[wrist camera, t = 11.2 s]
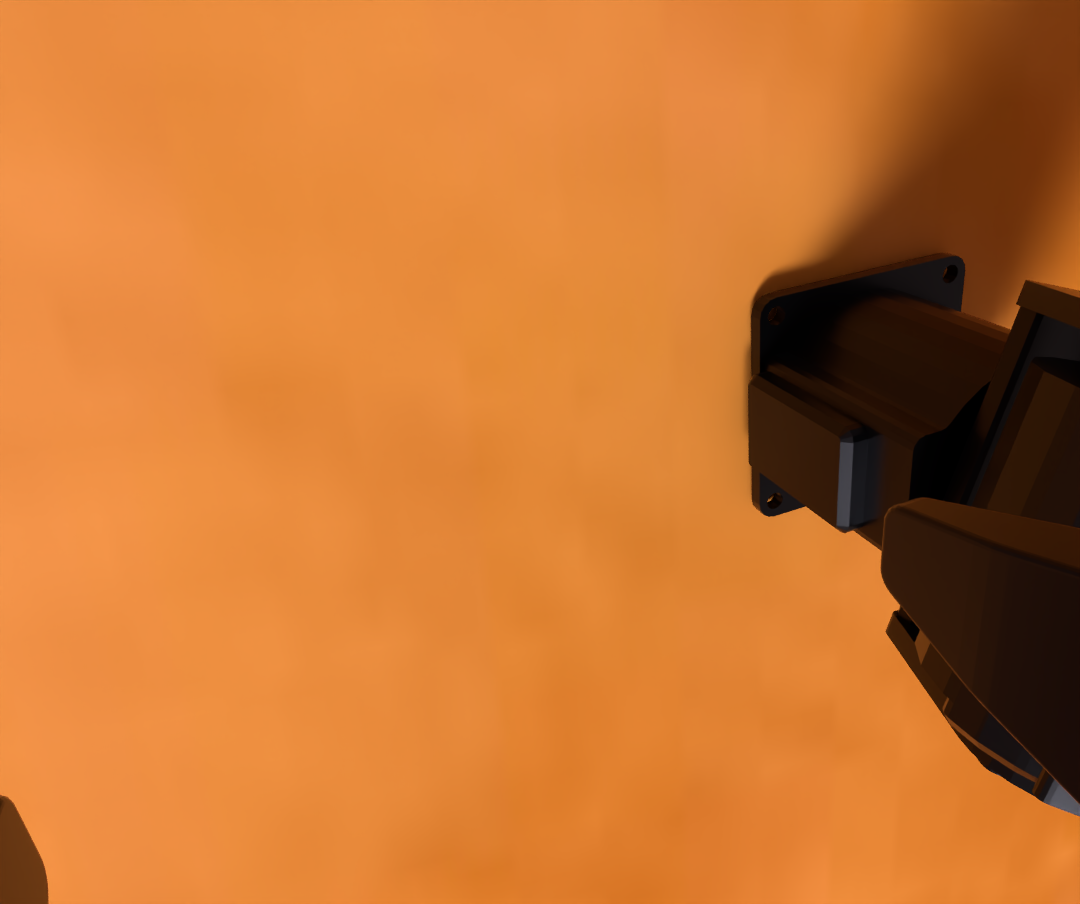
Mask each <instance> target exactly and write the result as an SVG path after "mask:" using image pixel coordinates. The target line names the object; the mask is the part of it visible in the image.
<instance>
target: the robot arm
mask: <svg viewBox="0 0 1080 904" xmlns="http://www.w3.org/2000/svg"><path fill="white" fill-rule="evenodd" d="M946 268H947V272H946V274H945V276H944V277H943V273H944V270H945V269H946ZM964 276H965V264H964V262H963V260H962V258H960V257H958V256H956V255H952V254H949V253H939V254H935V255H930V256H926V257H922V258H918V259H913V260H909V261H905V262H901V263H896V264H892V265H888V266H883V267H879V268H875V269H871V270H866V271H862V272H858V273H853V274H849V275H845V276H841V277H836V278H832V279H828V280H823V281H819V282H815V283H811V284H806V285H802V286H798V287H793V288H789V289H785V290H781V291H776V292H772V293H768V294H766V295H764V296H762V297H761V298H759V299H758V300H757V301H756V303H755V305H754V307H753V309H752V315H751V369H752V378H751V380H750V383H749V385H748V416H749V464H750V465H751V466H752V502H753V505H754V506H755V508H756V509H757V510H759V511H760V512H761V513H762V514H764V515H766V516H769V517H770V516H776V515H779V514H783V513H786V512H789V511H792V510H796V509H799V508H802V507H805V506H806V507H807V508H809V509H810V510H812V511H813V512H814V513H816V514H817V515H818V516H820V517H821V518H822V519H824V520H825V521H826V522H828V523H829V524H831V525H832V526H833V527H835V528H836V529H837V530H839V531H840V532H843V533H847V532H850V531H855V532H856V533H858V534H859V535H860V536H862V537H863V538H865V539H866V540H867V541H869V542H870V543H871V544H873V545H874V546H876V547H877V548H878V549H880V550H881V551H882V555H881V574H882V578H883V581H884V583H885V585H886V587H887V589H888V590H889V592H890V593H891V594H892V596H893V597H894V598H895V599H896V601H897V602H898V603H899V604H900V608H899V610H897V611H894V612H893V614H892V617H891V619H890V622H889V624H888V627H887V629H886V634H887V635H888V636H889V638H890V639H891V641H892V642H893V644H894V645H895V646H896V648H897V649H898V651H899V652H900V654H901V655H902V657H903V658H904V659H905V661H906V662H907V664H908V665H909V667H910V668H911V670H912V671H913V672H914V674H915V675H916V677H917V678H918V680H919V681H920V682H921V684H922V685H923V687H924V688H925V690H926V691H927V693H928V694H929V695H930V697H931V698H932V700H933V701H934V703H935V704H936V706H937V707H938V708H939V710H940V711H941V713H942V714H943V716H944V717H945V718H946V720H947V721H948V723H949V724H950V726H951V727H952V729H953V730H954V731H955V733H956V734H957V736H958V737H959V738H960V740H961V741H962V742H963V743H964V744H965V746H966V747H967V748H968V749H969V750H970V751H971V752H972V753H973V754H974V755H975V756H976V757H977V759H978V760H979V761H980V763H981V764H982V765H983V766H984V767H985V768H986V769H988V770H989V771H991V772H993V773H995V774H997V775H999V776H1002V777H1003V778H1004V779H1006V780H1007V781H1009V782H1010V783H1012V784H1014V785H1016V786H1017V787H1019V788H1021V789H1023V790H1024V791H1026V792H1028V793H1030V794H1031V795H1033V796H1035V797H1036V798H1037V799H1039V800H1040V801H1042V802H1044V803H1046V804H1049V805H1051V806H1054V807H1056V808H1059V809H1062V810H1064V811H1067V812H1070V813H1072V814H1075V815H1077V816H1080V291H1078V290H1074V289H1069V288H1064V287H1059V286H1054V285H1049V284H1045V283H1040V282H1035V281H1030V280H1025V283H1024V285H1023V288H1022V291H1021V293H1020V296H1019V298H1018V301H1017V303H1016V304H1017V305H1019V306H1020V309H1019V311H1018V314H1017V316H1016V319H1015V321H1014V324H1013V326H1012V329H1011V330H1010V329H1008V328H1005V327H1002V326H999V325H996V324H993V323H991V322H988V321H985V320H982V319H979V318H976V317H974V316H971V315H968V314H965V313H962V312H961V305H962V295H963V285H964ZM775 307H776V309H777V310H776V315H775V316H774V317H773V319H772V320H770V321H769V320H768V316H769V313H770V311H771V310H772V309H773V308H775ZM774 493H775V494H774ZM772 494H774V497H773V498H772V500H771V501H769V502H767V501H768V498H769V497H770V496H771V495H772ZM0 904H48V883H47V876H46V871H45V867H44V864H43V861H42V859H41V856H40V854H39V852H38V850H37V848H36V846H35V844H34V842H33V840H32V838H31V836H30V834H29V832H28V830H27V828H26V826H25V824H24V822H23V820H22V819H21V817H20V815H19V813H18V811H17V809H16V807H15V805H14V803H13V802H12V801H11V800H10V799H9V798H8V797H5V796H1V795H0Z"/></svg>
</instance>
